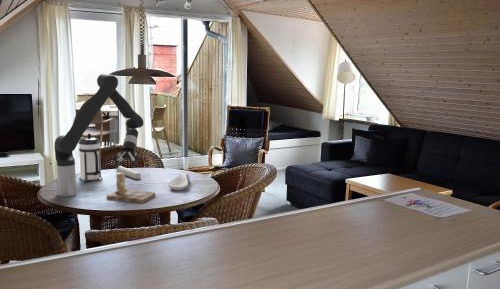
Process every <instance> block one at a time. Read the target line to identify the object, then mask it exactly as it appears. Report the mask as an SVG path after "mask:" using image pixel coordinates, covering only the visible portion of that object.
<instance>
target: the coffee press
mask: <svg viewBox="0 0 500 289" xmlns="http://www.w3.org/2000/svg"><path fill="white" fill-rule="evenodd" d="M78 145H79V147H78V150H79V164H80V165H79V166H80V167H79V168H80V171H79V172H80V176H79V178H78V179H79V180H80V181H81V180H83V182H84V184H88V182H89V181H93V180H99V181H100V182H102V181H104V180H103V178H102V175H101V174H102V172H101V171H102V170H101V168H102V167H101V140H100V139H99V138H98V137H93V136H92V134H91V133H88V134H87V137H81V138H80V140H79V142H78Z"/></svg>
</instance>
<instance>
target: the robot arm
mask: <svg viewBox="0 0 500 289" xmlns="http://www.w3.org/2000/svg"><path fill="white" fill-rule="evenodd" d="M96 83H97V87H99V88H98V90H97V91H96V93H94V94H93V95H92V96H91V97H89V98H88V99H87V100H85V101H84V102H83V104H81V106H80V108H79V109H78V110H77V111H76V114H75V115H74V116H75V117H74V118H73V122H72V126H71V127H70V129H69V130H68V131H67V132H66V134H65V135H62V134H61V135H59V136H57V137H56V139H55V140H54V155H55V161H56V170H57V171H56V173H57V175H56V176H57V177H56V178H55V184H56V186H55V187H56V195H57V196H59V197H62V198H63V197H64V198H65V197H67V198H68V197H72V196H76V195H77V181H76V180H77V177H76V160H75V158H74V155H73V151H75V149H76V147H77V146H78V145H79V141H80V139H82V138H83V135H84V134H85V132H86V131H87V130H88V127H89V126H90V125H91V124H92V123H93V121H94V119H95V118H96V117H97V115H98V113H99V111H101V109H102V107H104V105H105V103H106V102H107V100H108V99H110V100H111V102H112V103H113V104H114V105H115V107H116V108H117V109H118V112H119V113H120V114H121V115H122V117H123V118H124V119H126V121H125V127H126V128H125V129H126V130H125V131H126V132H125V136H124V137H125V138H124V140H123V144H122V148H121V151H118V150H116V151H115V154H114V157H113V161H114V162H115V167H116V168H119V166H120V162H122V161H124V160H129V161H130V160H131V161H132V162H131V166H130V167H131V169H134V168H135V166H136V163H139V162H140V158H141V157H140V156H141V154H140V151H137V152H136V149H137V144H138V138H139V130H137V129H140V128H142V127H143V126H144V119H143V117H141V116H140V114H138V113H137V112H136V111H135V110H134V109H133V107H132V106H131V105H130V103H129V101H128V100H127V99H126V98H125V97H123V96H122V94H120V92H119V91H118V90H117V88H118V85H119V78H117V76H115V75H113V74H108V73H101V74H99V75H98V77H97V80H96ZM134 156H135V157H136V158H135V157H134Z"/></svg>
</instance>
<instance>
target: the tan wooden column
mask: <svg viewBox="0 0 500 289" xmlns="http://www.w3.org/2000/svg"><path fill="white" fill-rule="evenodd" d="M115 174H116V189H115V191H114V192H115V194H125V193H126V192H127V190H128V188H126V175H125V173H119V172H118V173H117V172H116V173H115Z"/></svg>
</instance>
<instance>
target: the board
mask: <svg viewBox="0 0 500 289" xmlns="http://www.w3.org/2000/svg"><path fill="white" fill-rule="evenodd" d="M154 197H156V192H152V191H143V190H133V189H127V192H126V193H125V194H115V191H113V192H111V193H109V194H107V195H106V200H110V201H121V202H127V203H128V202H130V203H138V204H145V203H146V202H148V201H149V200H151V199H153V198H154Z"/></svg>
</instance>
